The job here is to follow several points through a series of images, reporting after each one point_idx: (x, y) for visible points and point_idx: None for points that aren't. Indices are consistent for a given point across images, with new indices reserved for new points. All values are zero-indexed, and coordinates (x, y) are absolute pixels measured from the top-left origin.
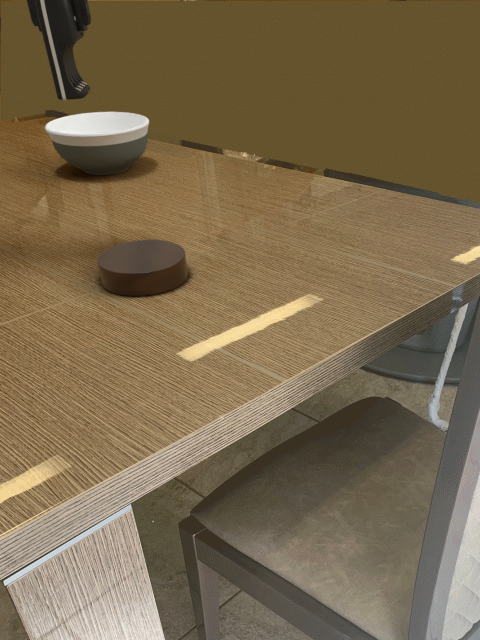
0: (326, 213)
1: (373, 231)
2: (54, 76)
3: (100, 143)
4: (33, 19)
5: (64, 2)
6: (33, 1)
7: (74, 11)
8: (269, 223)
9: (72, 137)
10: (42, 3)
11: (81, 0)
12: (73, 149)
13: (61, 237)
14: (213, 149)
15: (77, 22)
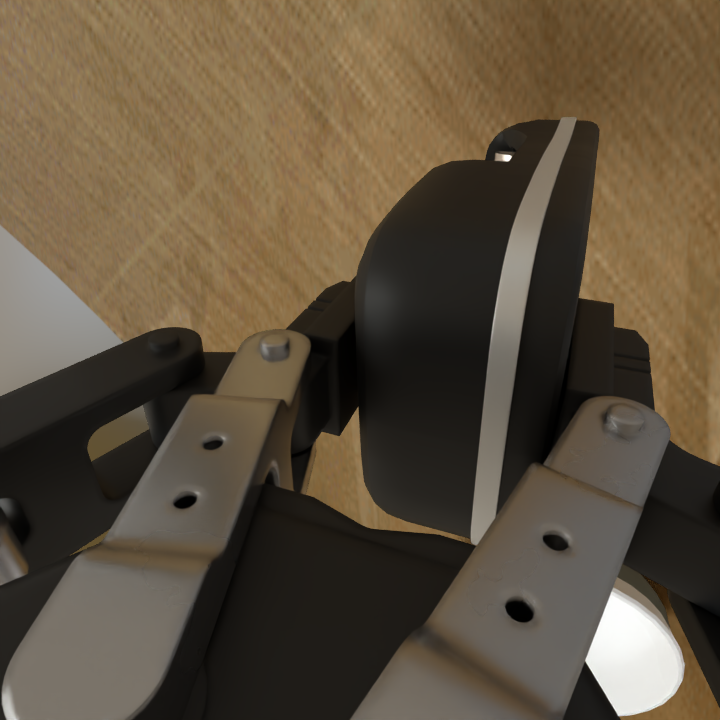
0: (155, 217)
1: (72, 107)
2: (586, 138)
3: None
4: (634, 348)
5: (377, 238)
6: (603, 372)
7: None
8: (241, 185)
9: (617, 588)
10: (527, 227)
11: (302, 330)
12: (621, 573)
13: (688, 186)
14: None
15: None
